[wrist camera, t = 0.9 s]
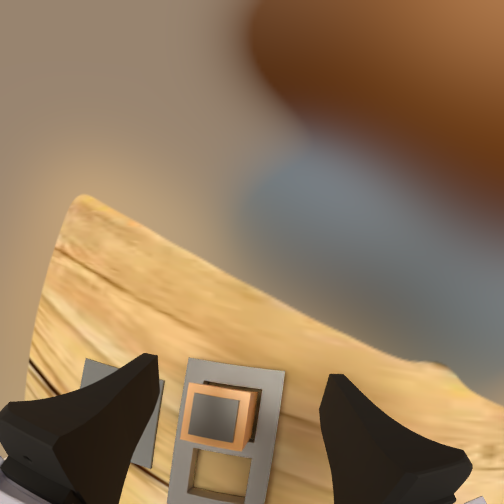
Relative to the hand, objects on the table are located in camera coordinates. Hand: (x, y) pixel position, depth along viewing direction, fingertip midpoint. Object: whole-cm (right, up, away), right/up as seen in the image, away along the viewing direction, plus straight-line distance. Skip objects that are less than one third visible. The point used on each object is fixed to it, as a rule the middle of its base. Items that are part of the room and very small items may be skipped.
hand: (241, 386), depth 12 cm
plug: (-1, -8, +12) cm, 14 cm away
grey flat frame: (-2, -11, +11) cm, 15 cm away
